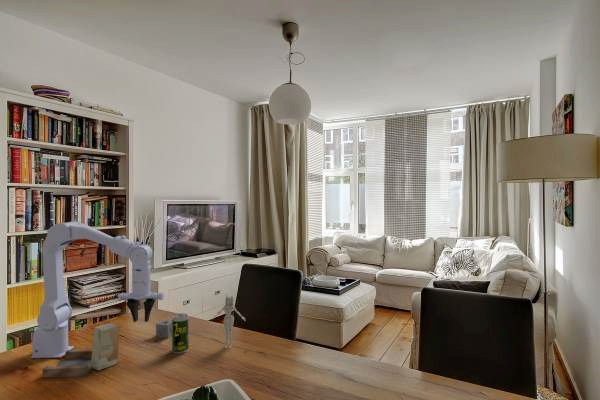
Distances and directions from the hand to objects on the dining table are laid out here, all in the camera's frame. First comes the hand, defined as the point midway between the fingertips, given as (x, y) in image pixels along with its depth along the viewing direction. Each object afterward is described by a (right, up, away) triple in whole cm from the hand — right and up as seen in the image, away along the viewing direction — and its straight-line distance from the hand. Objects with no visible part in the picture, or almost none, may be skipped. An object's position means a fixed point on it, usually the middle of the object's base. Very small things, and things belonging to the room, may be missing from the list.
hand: (141, 320), depth 124 cm
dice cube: (+3, -10, +14) cm, 18 cm away
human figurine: (+29, -11, +5) cm, 31 cm away
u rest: (-15, -11, -11) cm, 22 cm away
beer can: (+13, -11, +1) cm, 17 cm away
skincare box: (-7, -11, -10) cm, 16 cm away
